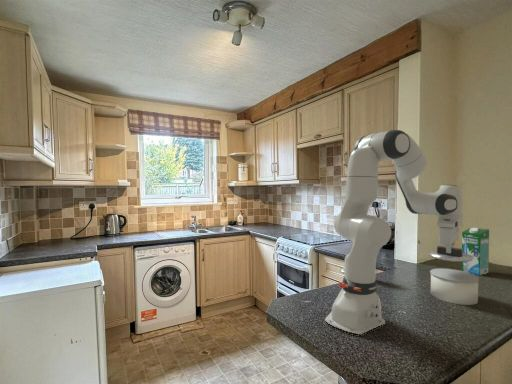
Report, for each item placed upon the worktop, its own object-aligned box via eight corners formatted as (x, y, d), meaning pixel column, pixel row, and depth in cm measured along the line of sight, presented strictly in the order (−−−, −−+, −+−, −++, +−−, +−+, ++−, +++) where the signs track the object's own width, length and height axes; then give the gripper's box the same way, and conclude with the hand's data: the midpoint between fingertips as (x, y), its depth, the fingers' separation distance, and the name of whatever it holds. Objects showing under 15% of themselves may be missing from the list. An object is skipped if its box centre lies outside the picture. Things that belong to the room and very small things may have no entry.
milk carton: (461, 271, 158) (462, 228, 157) (470, 269, 162) (471, 227, 161) (479, 275, 150) (480, 230, 149) (488, 273, 153) (489, 229, 153)
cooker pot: (475, 309, 109) (475, 284, 109) (425, 296, 122) (425, 274, 122) (481, 296, 121) (482, 274, 121) (435, 286, 134) (435, 266, 134)
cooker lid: (469, 264, 111) (469, 254, 111) (424, 257, 122) (424, 248, 122) (475, 256, 122) (475, 247, 122) (433, 250, 133) (433, 242, 133)
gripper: (446, 218, 131) (446, 246, 131) (435, 223, 117) (435, 255, 117) (463, 219, 126) (463, 248, 127) (453, 224, 112) (453, 257, 113)
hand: (449, 252), depth 122 cm, fingers closed on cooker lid, 3 cm apart
